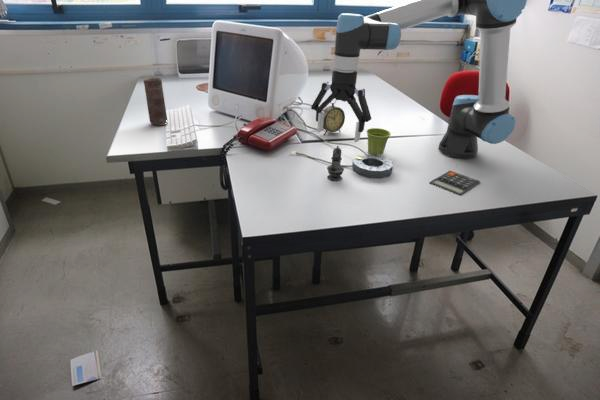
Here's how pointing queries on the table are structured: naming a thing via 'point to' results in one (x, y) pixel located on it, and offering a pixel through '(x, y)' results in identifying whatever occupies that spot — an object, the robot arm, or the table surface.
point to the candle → (155, 101)
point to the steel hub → (377, 172)
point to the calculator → (455, 182)
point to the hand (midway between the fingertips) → (337, 136)
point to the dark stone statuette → (335, 166)
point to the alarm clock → (333, 118)
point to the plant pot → (377, 140)
